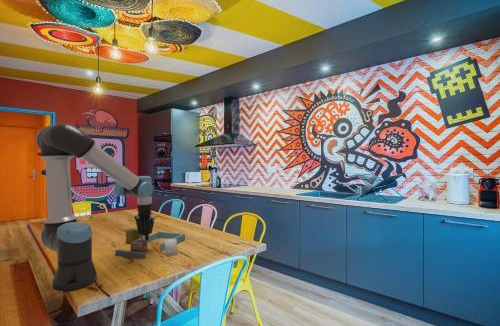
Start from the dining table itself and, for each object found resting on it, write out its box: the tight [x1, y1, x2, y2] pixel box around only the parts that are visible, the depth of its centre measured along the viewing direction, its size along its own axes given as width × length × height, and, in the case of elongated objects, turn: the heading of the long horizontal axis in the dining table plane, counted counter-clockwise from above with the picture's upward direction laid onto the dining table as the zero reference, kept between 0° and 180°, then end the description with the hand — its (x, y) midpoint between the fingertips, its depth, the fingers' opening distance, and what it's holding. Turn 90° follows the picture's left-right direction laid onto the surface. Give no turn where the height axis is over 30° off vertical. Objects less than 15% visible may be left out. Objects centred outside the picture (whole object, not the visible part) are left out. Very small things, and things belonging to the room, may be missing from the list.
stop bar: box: [114, 249, 146, 260], centre depth 139 cm, size 2×18×2 cm, turn 70°
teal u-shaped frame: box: [135, 231, 186, 251], centre depth 161 cm, size 22×19×4 cm
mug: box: [125, 227, 141, 244], centre depth 166 cm, size 12×10×10 cm
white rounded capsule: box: [164, 238, 178, 256], centre depth 143 cm, size 6×6×7 cm
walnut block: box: [129, 240, 149, 254], centre depth 145 cm, size 6×6×6 cm
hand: (145, 246), depth 149 cm, fingers closed
